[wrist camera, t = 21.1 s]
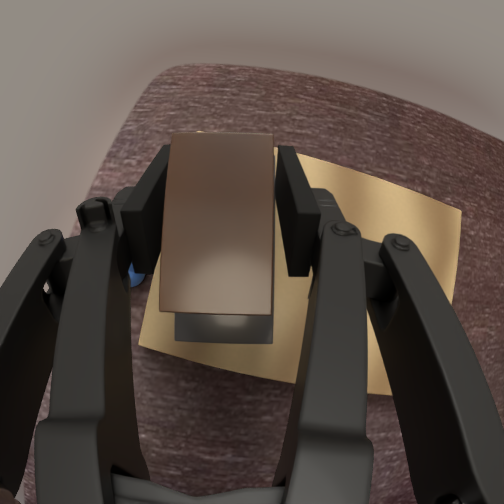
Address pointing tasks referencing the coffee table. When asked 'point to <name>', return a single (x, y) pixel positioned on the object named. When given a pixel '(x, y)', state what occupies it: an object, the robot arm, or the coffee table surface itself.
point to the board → (297, 288)
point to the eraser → (219, 238)
